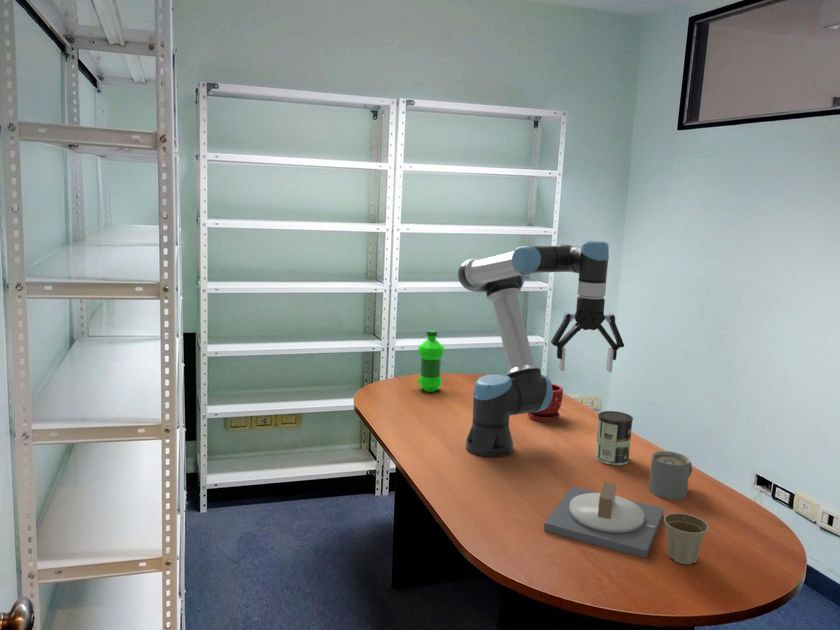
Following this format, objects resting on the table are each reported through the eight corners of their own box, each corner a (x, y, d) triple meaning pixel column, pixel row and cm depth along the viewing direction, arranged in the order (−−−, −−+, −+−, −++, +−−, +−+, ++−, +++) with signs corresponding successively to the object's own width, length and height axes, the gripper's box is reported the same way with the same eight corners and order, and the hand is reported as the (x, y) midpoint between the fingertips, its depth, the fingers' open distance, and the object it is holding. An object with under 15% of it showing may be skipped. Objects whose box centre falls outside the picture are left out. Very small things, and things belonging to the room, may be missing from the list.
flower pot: (653, 547, 154) (656, 512, 152) (691, 546, 154) (695, 512, 153) (671, 569, 144) (675, 533, 143) (712, 568, 145) (716, 532, 144)
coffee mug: (663, 501, 177) (667, 466, 175) (641, 485, 186) (644, 452, 185) (704, 496, 181) (708, 462, 179) (680, 481, 190) (684, 448, 189)
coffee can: (627, 454, 209) (631, 412, 207) (630, 467, 199) (634, 423, 197) (593, 451, 211) (597, 409, 209) (595, 463, 201) (599, 419, 199)
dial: (641, 539, 152) (643, 513, 151) (563, 523, 159) (565, 498, 158) (645, 506, 169) (648, 483, 168) (575, 493, 175) (576, 470, 174)
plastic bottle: (434, 395, 265) (436, 334, 261) (412, 390, 271) (414, 331, 266) (447, 389, 273) (449, 330, 269) (425, 385, 279) (427, 327, 275)
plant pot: (568, 419, 241) (570, 388, 238) (542, 425, 233) (544, 393, 231) (543, 409, 251) (545, 379, 249) (517, 415, 244) (519, 384, 242)
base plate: (543, 530, 160) (544, 521, 159) (571, 493, 180) (572, 485, 180) (646, 558, 148) (647, 549, 148) (663, 515, 169) (663, 507, 169)
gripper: (630, 295, 187) (624, 367, 191) (543, 293, 186) (539, 365, 190) (640, 300, 180) (633, 374, 183) (549, 297, 179) (544, 372, 183)
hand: (585, 370), depth 187 cm, fingers open, 13 cm apart
